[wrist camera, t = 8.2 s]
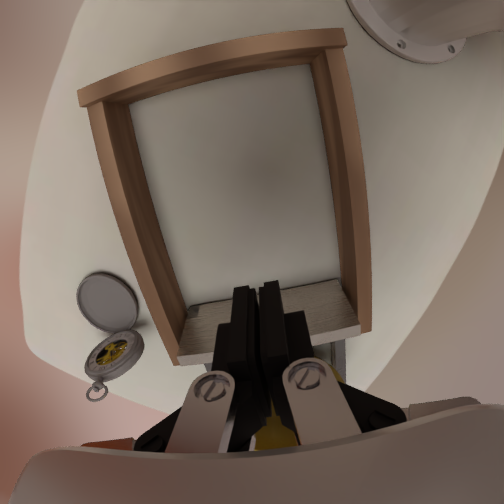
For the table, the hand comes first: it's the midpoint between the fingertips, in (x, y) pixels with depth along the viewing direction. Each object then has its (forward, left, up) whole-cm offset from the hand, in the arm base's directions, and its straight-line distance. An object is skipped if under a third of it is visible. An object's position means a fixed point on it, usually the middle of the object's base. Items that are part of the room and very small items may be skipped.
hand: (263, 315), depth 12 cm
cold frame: (+1, -1, -15) cm, 15 cm away
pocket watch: (+16, +7, -15) cm, 23 cm away
